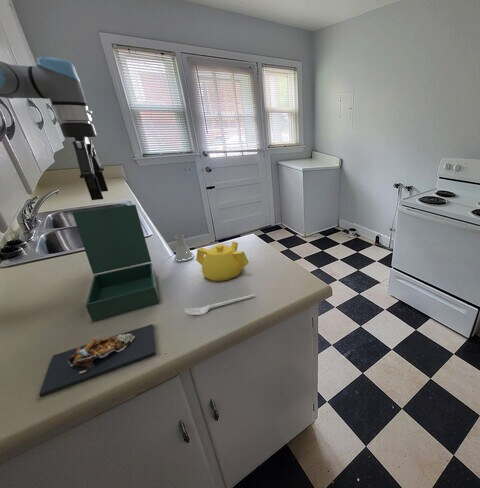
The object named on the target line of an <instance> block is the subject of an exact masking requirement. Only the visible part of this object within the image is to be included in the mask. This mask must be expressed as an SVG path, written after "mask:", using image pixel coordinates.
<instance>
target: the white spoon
mask: <svg viewBox="0 0 480 488" xmlns="http://www.w3.org/2000/svg"><path fill="white" fill-rule="evenodd" d="M254 297H256V294H253V293H252V294H249V295H245V296H240V297H236V298H232V299H229V300H228V299H227V300H225V301H221V302H215V303H212V304H207V305H205V306H202V307H196V308H186V307H185V308H183V309H184V313H185V314H187V315H191V316H202V315H205V314H207V313H208V312H209V310H210V309H214V308H217V307H220V306H224V305H225V306H226V305H228V304H232V303H235V302H239V301H243V300H247V299H251V298H254Z"/></svg>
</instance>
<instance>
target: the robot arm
mask: <svg viewBox="0 0 480 488" xmlns="http://www.w3.org/2000/svg"><path fill="white" fill-rule="evenodd" d="M0 98H4V99H43V100H44V99H45V100H47V99H49V100H50V102H51V104H52V109H53V111H54V114H55V116H56V120H57V121H58V122H60V124H59V127H60V129H61V133H62V135H63V137H65V138H74V140H73V141H72V145H73V148H74V151H75V155H76V159H77V163H78V168H79V171H80V172H79V173H80V174H79V178H80V179H84V181H85V185H86V188H87V191H88V194H89V196H90V200H91V201H98V200H99V201H100V200H104V196H103V192H109V188H108V186H107V182H106V179H105V176H104V171H105V167H102V164H101V162H100V159H99V157H98V155H97V152H96V149H95V146H94V144H93V141H92V139H89V138H96V137H97V136H98V135H97V132H96V129H95V126H94V124H93V123H91V122H92V121H93V119H92V117H91V115H92V114H93V111H92V110H91V109H89V107H88V104H87V101H86V97H85V94H84V90H83V87H82V83H81V80H80V78H79V75H78V73H77V70H76V68H75V65H74V63H72V62H71V61H69V60H68V59H64V58H59V57H53V56H52V57H50V56H39V57H37V58H36V65H18V64H9V63H7V62H4V61H2V60H0Z"/></svg>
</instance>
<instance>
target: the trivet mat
mask: <svg viewBox="0 0 480 488" xmlns="http://www.w3.org/2000/svg"><path fill="white" fill-rule="evenodd" d="M123 334H132V335H133V336H135V337H134V339H133V340H132V342H131V343H130V344H128V345H127V346H126V347H125V348H124V350H122V351H120V352H116V351H113V352H111V353H109V354H108V355H107V356H105V357H102V358H95V359H94V360H93V362H92V363H93V364H94V365H95V368H94V369H93V370H90V371H87V373H85V374H82V375H80V374H79V372H80V371H82V370H84V369H86V368H87V366H80V365H74V366H70V364H69V363H68V358H69V357H70V356H72V355H74V354H75V349H76V348H79V347H80V348H81V349H83V348H84V347H85V346H87V345H88V343H87V344H84V345H81V346H77V347H74V348H72V349H69V350H66V351H65V350H64V351H62V352H60V353H57V354H53V355H52V358H51V360H50V363H49V365H48V369H47V371H46V374H45V377H44V378H43V379H44V380H43V382H42V385H41V386H40V387H41V388H40V390H39V393H38V395H39V396H40V397H44V396H47V395H50V394H52V393H55V392H57V391H60V390H63V389H65V388H68V387H71V386H75V385H77V384H79V383H82V382H84V381H88V380H90V379H93V378H96V377H98V376H101V375H104V374H107V373H109V372H112V371H116V370H117V369H121V368H123V367H126V366H128V365H131V364H134V363H136V362H140V361H142V360H144V359H147V358H150V357H154V356H156V355H157V353H156V343H155V331H154V324H153V323H151V324H148V325H145V326H142V327H138V328H135V329H132V330H129V331H125V332H123V333H119V334H115V335H113V336H110V337H111V338H112V337H114V336H117V337H118V336H119V335H123Z"/></svg>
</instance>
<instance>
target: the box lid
mask: <svg viewBox="0 0 480 488" xmlns="http://www.w3.org/2000/svg"><path fill="white" fill-rule="evenodd" d="M71 214H72V216H73V220H74V222H75V225H76V228H77V230H78V234H79V236H80V240H81V242H82V245H83V248H84V251H85V255H86V257H87V261H88V263H89V266H90V269H91V272H92V275H98V274H102V273H107V272H111V271H116V270H121V269H125V268H130V267H134V266H139V265H144V264H148V263H152V258H151V255H150V251H149V247H148V244H147V240H146V237H145V233H144V230H143V227H142V222H141V219H140V216H139V212H138V209H137V205H136V204H129V205H120V206H111V207H104V208H96V209H87V210H80V211H72V212H71Z"/></svg>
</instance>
